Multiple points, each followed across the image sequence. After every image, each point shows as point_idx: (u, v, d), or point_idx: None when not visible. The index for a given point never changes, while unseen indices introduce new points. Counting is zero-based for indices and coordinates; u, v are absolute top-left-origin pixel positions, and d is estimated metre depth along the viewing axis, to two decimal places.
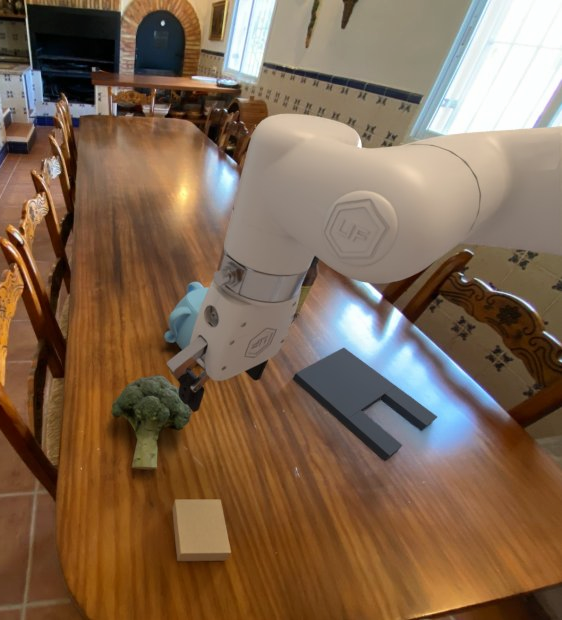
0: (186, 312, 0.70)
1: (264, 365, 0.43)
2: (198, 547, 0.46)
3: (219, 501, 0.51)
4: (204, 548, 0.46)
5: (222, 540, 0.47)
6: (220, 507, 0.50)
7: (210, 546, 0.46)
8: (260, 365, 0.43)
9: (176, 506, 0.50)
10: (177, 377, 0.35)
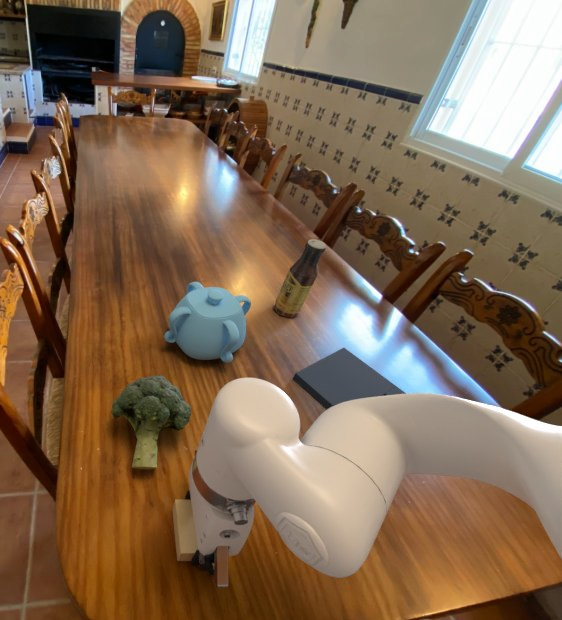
0: (186, 312, 0.70)
1: None
2: None
3: None
4: None
5: None
6: None
7: None
8: None
9: (176, 506, 0.50)
10: None
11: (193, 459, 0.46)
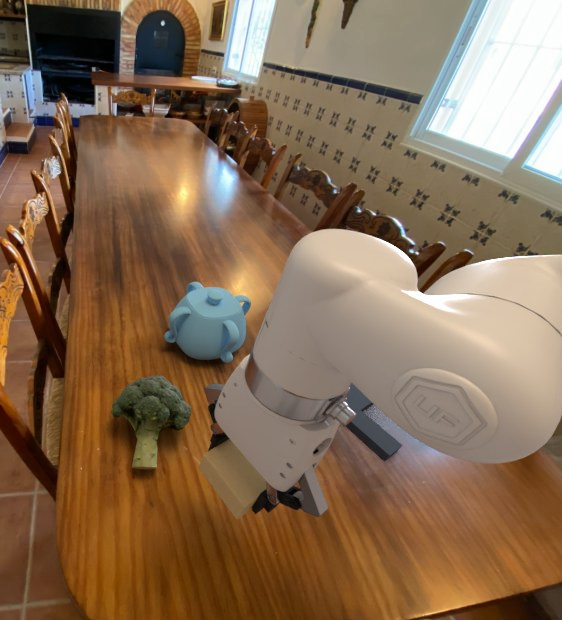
0: (186, 312, 0.70)
1: None
2: (256, 489, 0.38)
3: None
4: (262, 487, 0.38)
5: None
6: None
7: None
8: None
9: (209, 460, 0.40)
10: None
11: (222, 392, 0.36)
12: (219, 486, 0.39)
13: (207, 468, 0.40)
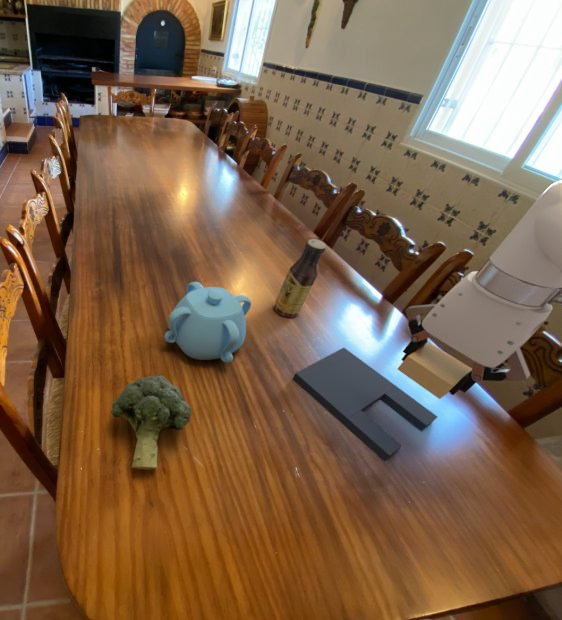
0: (186, 312, 0.70)
1: None
2: (456, 376, 0.53)
3: (430, 343, 0.58)
4: (459, 375, 0.53)
5: (461, 365, 0.55)
6: (435, 346, 0.58)
7: (460, 372, 0.54)
8: (424, 344, 0.57)
9: (414, 359, 0.55)
10: None
11: (440, 304, 0.51)
12: (423, 377, 0.55)
13: (410, 366, 0.56)
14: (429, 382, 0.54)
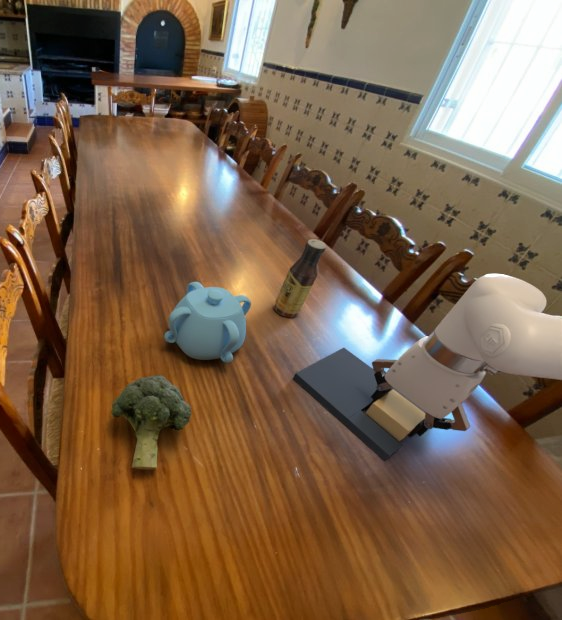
0: (186, 312, 0.70)
1: None
2: (412, 422, 0.62)
3: (394, 390, 0.67)
4: (416, 421, 0.62)
5: (418, 412, 0.64)
6: (398, 393, 0.67)
7: (417, 418, 0.63)
8: (388, 392, 0.66)
9: (378, 406, 0.64)
10: None
11: (397, 362, 0.60)
12: (385, 422, 0.64)
13: (375, 411, 0.65)
14: (390, 426, 0.63)
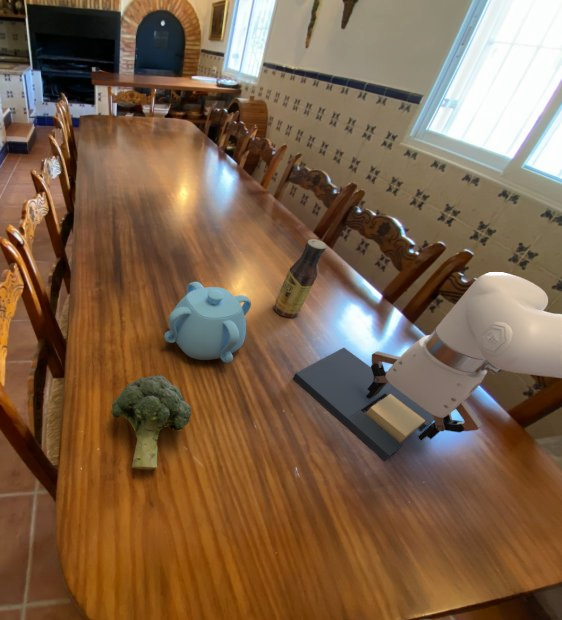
0: (186, 312, 0.70)
1: None
2: (409, 427, 0.62)
3: (391, 395, 0.68)
4: (412, 426, 0.63)
5: (415, 416, 0.64)
6: (395, 398, 0.67)
7: (413, 423, 0.63)
8: (385, 384, 0.66)
9: (375, 411, 0.65)
10: None
11: (398, 361, 0.60)
12: (382, 426, 0.64)
13: (372, 416, 0.65)
14: (387, 431, 0.64)
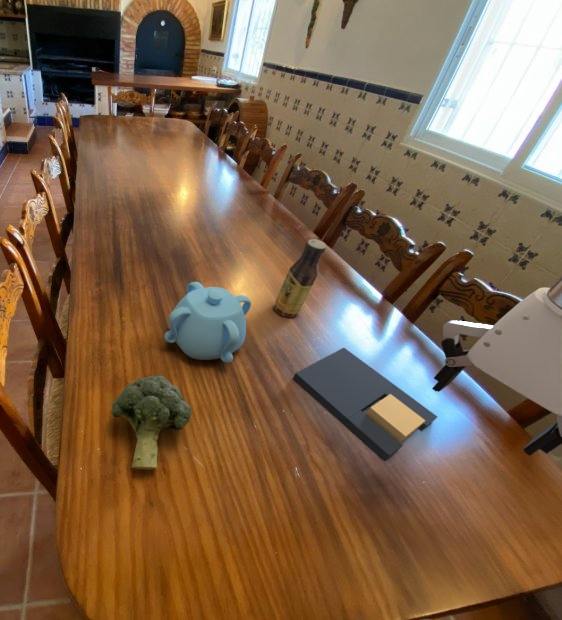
0: (186, 312, 0.70)
1: None
2: (409, 427, 0.62)
3: (391, 395, 0.68)
4: (412, 426, 0.63)
5: (415, 416, 0.64)
6: (395, 398, 0.67)
7: (413, 423, 0.63)
8: None
9: (375, 411, 0.65)
10: None
11: (494, 330, 0.38)
12: (382, 426, 0.64)
13: (372, 416, 0.65)
14: (387, 431, 0.64)
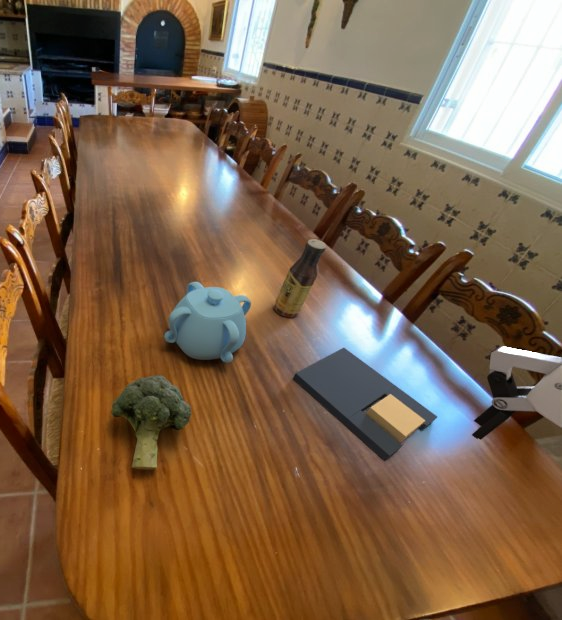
0: (186, 312, 0.70)
1: None
2: (409, 427, 0.62)
3: (391, 395, 0.68)
4: (412, 426, 0.63)
5: (415, 416, 0.64)
6: (395, 398, 0.67)
7: (413, 423, 0.63)
8: None
9: (375, 411, 0.65)
10: None
11: None
12: (382, 426, 0.64)
13: (372, 416, 0.65)
14: (387, 431, 0.64)
